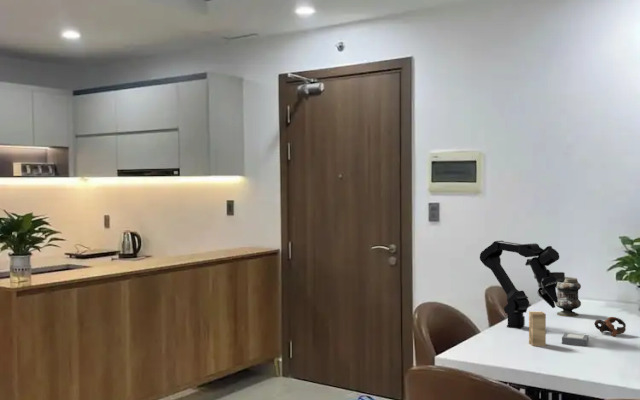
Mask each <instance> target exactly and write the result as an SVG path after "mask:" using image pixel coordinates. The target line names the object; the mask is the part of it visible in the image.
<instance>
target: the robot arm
mask: <svg viewBox="0 0 640 400" xmlns="http://www.w3.org/2000/svg"><path fill="white" fill-rule="evenodd" d="M503 251H504V252H505V251H506V252H511V253H517V254H519V255H520V256H521V257H524V258H527V259H526V262H525V266H527V267H528V266H530V268H531V270H532V273H533V277H534V279H535V280H536V282H537V287H538V289H537V296H538V297H540V298H542V300H543V301H544V302H546V303H547V304H548V305H549V306H550V307H551V308H552V309H556V305H555V303H557V302H558V299H557V288H556V286H557V283H558V282H560V283H563V282H564V281H565V277H566V275H565V272H563V271H559V272H558V271H552V272H551V270H550V269H549V268H547V267H549V266H550V265H552V264H553V263H555V262H557V261H558V260H560V254H559V252H558V251H557V250H556V249H554V248H553V247H552V245H547V246H546V247H545V248H543V247H540V245H539V244H538V243H536V242H535V243H534V242H533V243H523V244H522V243H517V242H510V241H504V240H495V241H493V242H492V243H491V244H490V245H489V246H487V247H486V248H484V249H483V250H482V251H481V252H480V253H479V260H480V261H481V263H482V264H483V265H484V266H485V267H486V268H488V269H490V270H491V272H492V273H493V275H494V276H495V278H496V280H497V281H498V283H499V285H500V287H501V288H502V289H503V291H504V293H505V294H506V302H507V304H506V305H505V307H504V308H503V311H504V313H505V314H507V325H506V327H507V328H514V329H515V328H517V329H523V328H524V327H525V322H526V317H525V315H524V313H527V310H528V309H529V305H530V301H529V296H527V294H526V293H525V291H524V290H518V289H517V287H516V286H515V284H514V283H513V282H512V280H511V278H510V276H509V275H508V274H507V272H506V271H505V269H504V268H503V266H502V264H501V259H502V258H501V256H502V255H503ZM554 302H555V303H554Z"/></svg>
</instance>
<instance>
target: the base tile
mask: <svg viewBox="0 0 640 400" xmlns="http://www.w3.org/2000/svg"><path fill="white" fill-rule="evenodd" d="M589 336H590V335H589V334H580V333H571V332H569V333H567V332H565V333H564V334H563V335H562V337H561V344H562V345H570V346H579V347H580V346H582V347H587V346H588V344H589V342H590V337H589Z"/></svg>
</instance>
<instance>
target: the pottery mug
mask: <svg viewBox="0 0 640 400" xmlns="http://www.w3.org/2000/svg"><path fill="white" fill-rule="evenodd" d="M616 322H617V323H618V325H621V326H617V327H616V328H615V325H614V323H616ZM593 323H594V328H596V329H597V330H599V332H600V333H601V334H603V333H604V332H610V333H611V336H612V337H614V338H616V337H617V336H618V335H622V334H624V333H625V332H626V330H627V328H626V326H627V325H626V323H625V321H624V320H622V319H621V318H619V317H616V316H615V317H614V316H610V317H608V318H607V319H604V320H602V319H597V320H595V321H594V322H593Z"/></svg>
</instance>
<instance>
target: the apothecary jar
mask: <svg viewBox="0 0 640 400" xmlns="http://www.w3.org/2000/svg"><path fill="white" fill-rule="evenodd" d="M581 287H582V285H581V284H580V283H579V281H578V278H577V277H573V276H565V281H564V282H563V283H560V282H558V283H557V286H556V294H557V299H558V302H557V303H555V302H554V304H555V307H556V308H559V309H562V310H560V311H558V312H556V315H558V316H562V317H578V316H579V315H580V314H579V313H577V312H575V311H573V310H577V309H579V308H580V307H581V305H582V302H581V300H580V299H579V290H581Z"/></svg>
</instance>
